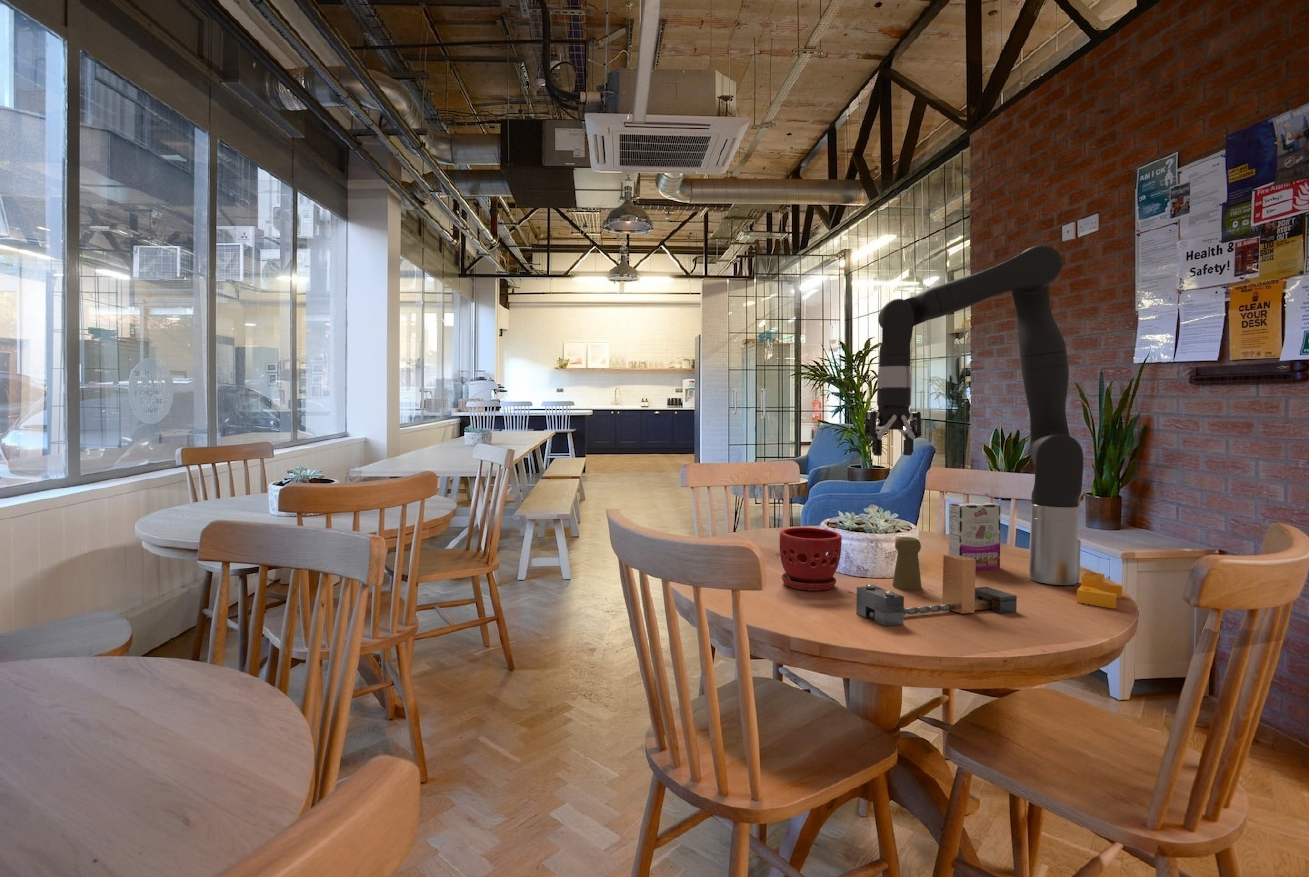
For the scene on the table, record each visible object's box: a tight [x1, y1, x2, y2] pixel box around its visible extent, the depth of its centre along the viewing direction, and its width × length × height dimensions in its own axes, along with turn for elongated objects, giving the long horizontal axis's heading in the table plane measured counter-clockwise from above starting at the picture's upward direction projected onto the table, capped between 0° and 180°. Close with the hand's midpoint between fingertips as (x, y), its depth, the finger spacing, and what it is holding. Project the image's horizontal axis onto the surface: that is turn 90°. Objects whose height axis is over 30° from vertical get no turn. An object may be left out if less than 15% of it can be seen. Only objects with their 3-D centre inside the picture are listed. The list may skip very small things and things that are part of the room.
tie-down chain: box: [870, 554, 992, 619], centre depth 128 cm, size 28×5×10 cm, turn 109°
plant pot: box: [779, 526, 842, 592], centre depth 148 cm, size 13×13×12 cm
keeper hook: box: [975, 586, 1018, 614], centre depth 133 cm, size 4×7×3 cm, turn 19°
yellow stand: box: [1076, 571, 1123, 609], centre depth 140 cm, size 12×4×6 cm
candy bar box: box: [948, 502, 1002, 571], centre depth 167 cm, size 11×5×16 cm, turn 102°
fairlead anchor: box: [855, 583, 905, 627], centre depth 124 cm, size 4×8×6 cm, turn 19°
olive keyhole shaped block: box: [892, 536, 923, 592], centre depth 148 cm, size 6×6×11 cm
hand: (892, 455), depth 161 cm, fingers open, 8 cm apart
